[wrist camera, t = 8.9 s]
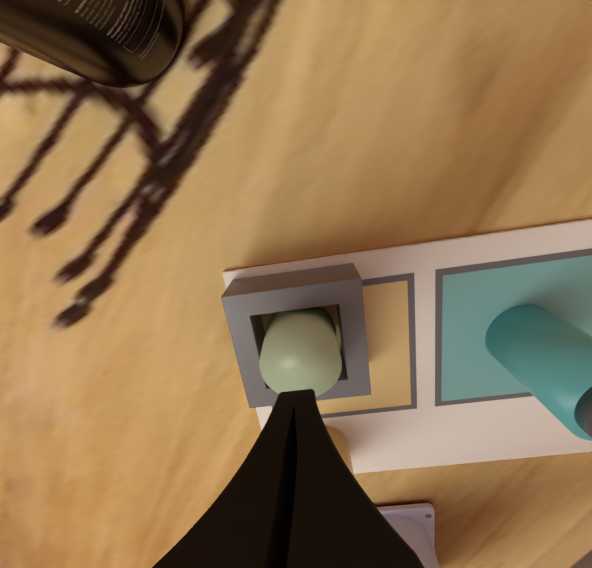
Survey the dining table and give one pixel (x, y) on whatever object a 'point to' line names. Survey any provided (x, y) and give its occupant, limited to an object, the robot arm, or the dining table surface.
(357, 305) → the button collar
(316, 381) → the button
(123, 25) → the supplement bottle
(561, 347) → the teal capped bottle
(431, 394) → the picture card
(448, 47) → the dining table surface
